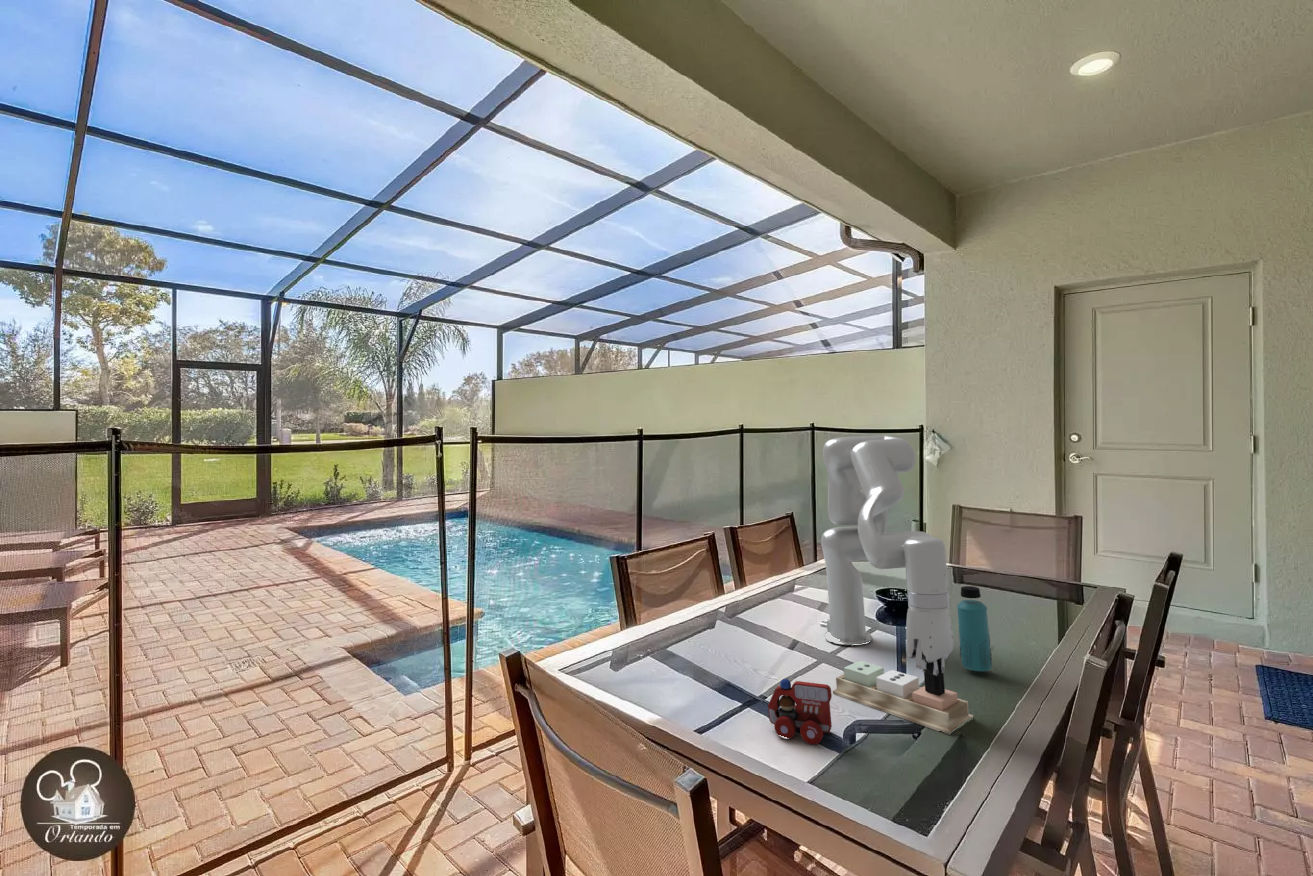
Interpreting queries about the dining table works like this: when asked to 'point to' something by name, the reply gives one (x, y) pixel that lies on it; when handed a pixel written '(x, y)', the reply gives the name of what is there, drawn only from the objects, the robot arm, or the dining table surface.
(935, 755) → the dining table surface
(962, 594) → the beverage bottle
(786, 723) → the toy fire truck
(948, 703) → the one dot tile
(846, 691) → the tile board
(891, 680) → the three dot tile
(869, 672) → the two dot tile
